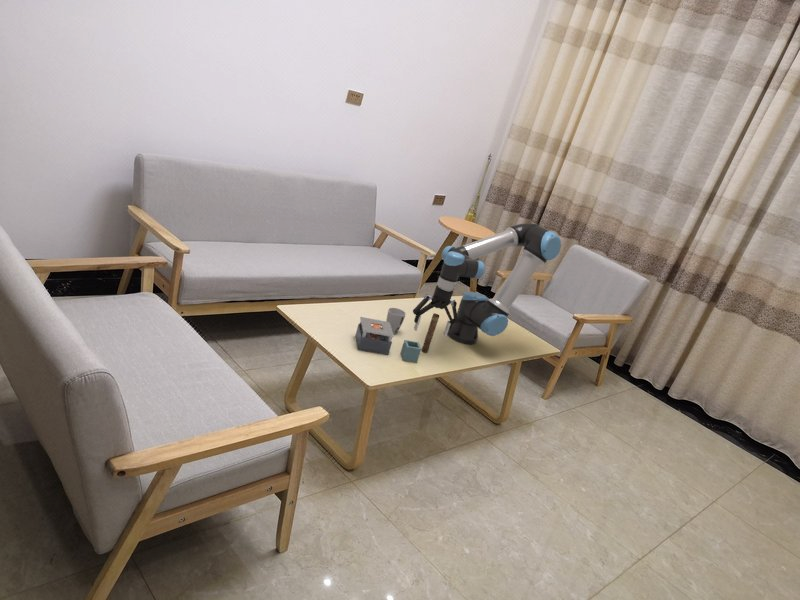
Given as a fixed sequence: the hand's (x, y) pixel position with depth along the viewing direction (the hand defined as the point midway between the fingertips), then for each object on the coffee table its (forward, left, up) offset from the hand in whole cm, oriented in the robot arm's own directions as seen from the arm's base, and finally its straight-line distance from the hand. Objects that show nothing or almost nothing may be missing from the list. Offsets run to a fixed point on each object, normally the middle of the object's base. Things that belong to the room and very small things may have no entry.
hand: (430, 332), depth 234 cm
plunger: (+24, +3, -4) cm, 25 cm away
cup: (+13, -15, -10) cm, 22 cm away
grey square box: (+24, +3, -9) cm, 26 cm away
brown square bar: (0, 0, -10) cm, 9 cm away
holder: (+9, +9, -9) cm, 16 cm away
